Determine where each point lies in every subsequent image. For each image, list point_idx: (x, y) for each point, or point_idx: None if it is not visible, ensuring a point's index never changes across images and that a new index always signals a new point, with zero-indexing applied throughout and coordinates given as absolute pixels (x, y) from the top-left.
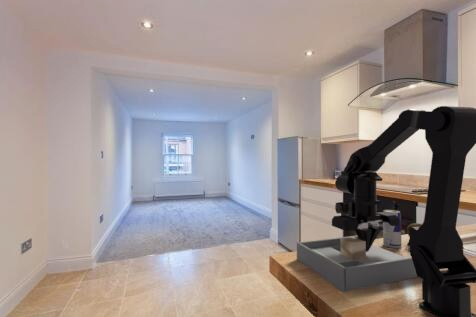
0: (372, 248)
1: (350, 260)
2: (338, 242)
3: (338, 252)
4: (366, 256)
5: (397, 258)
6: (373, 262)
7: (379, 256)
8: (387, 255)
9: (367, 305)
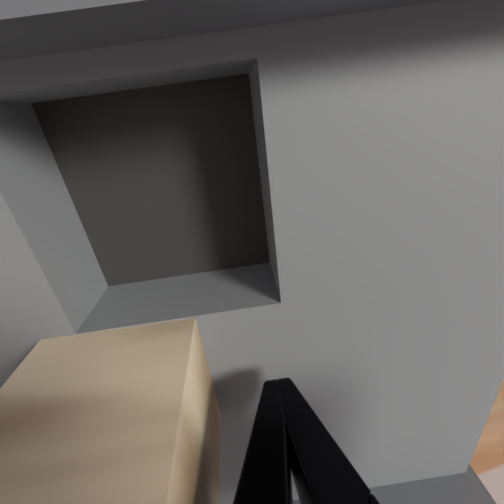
0: (462, 254)
1: None
2: (116, 34)
3: (29, 305)
4: (246, 395)
5: (422, 429)
6: (223, 460)
7: (342, 400)
8: (414, 391)
9: None
